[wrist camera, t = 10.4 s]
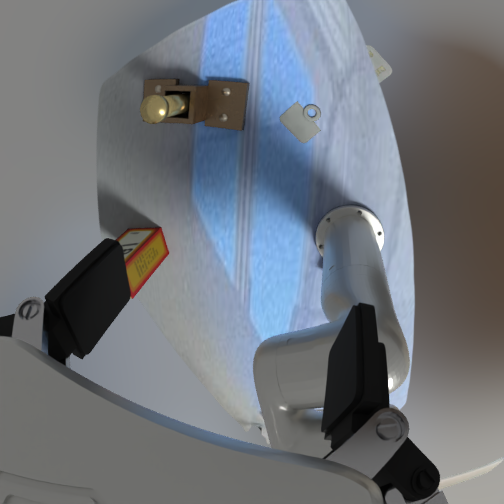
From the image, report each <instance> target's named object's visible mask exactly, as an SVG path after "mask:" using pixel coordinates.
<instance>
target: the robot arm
mask: <svg viewBox="0 0 504 504" xmlns="http://www.w3.org/2000/svg"><path fill="white" fill-rule="evenodd" d="M359 210H360V212H358V211H359ZM328 218H330V219H328ZM379 231H380V232H379ZM383 244H384V231H383V227H382V225H381V223H380V221H379V219H378V218H377V217H376V215H374V214H373V213H372V212H371V211H369V210H367V209H366V208H363V207H360V206H354V205H346V206H341V207H338V208H335V209H333V210H331V211H330V212H329V213H327V214H326V215H325V216H324V217H323V218H322V220H321V221H320V223H319V225H318V227H317V230H316V246H317V249H318V251H319V253H320V254H321V256H322V257H323V272H322V287H321V305H322V309H323V312H324V314H325V316H326V318H327V319H328V321H329V322H330V323H326V324H322V325H319V326H316V327H312V328H307V329H303V330H298V331H294V332H289V333H285V334H280V335H277V336H273V337H270V338H268V339H266V340H265V341H263V342H262V343H261V344H260V345H259V347H258V348H257V350H256V352H255V356H254V361H253V374H254V382H255V387H256V391H257V396H258V400H259V403H260V407H261V411H262V415H263V418H264V422H265V426H266V429H267V433H268V437H269V440H270V444H271V447H272V448H269V447H265V446H260V445H256V444H252V443H248V442H244V441H240V440H237V439H233V438H229V437H226V436H222V435H219V434H216V433H213V432H209V431H206V430H203V429H200V428H197V427H194V426H191V425H188V424H186V423H183V422H180V421H178V420H175V419H172V418H170V417H167V416H164V415H162V414H159V413H157V412H155V411H152V410H150V409H148V408H145V407H143V406H141V405H138V404H136V403H134V402H132V401H130V400H127V399H125V398H123V397H121V396H119V395H117V394H115V393H113V392H111V391H109V390H107V389H105V388H103V387H102V386H100V385H98V384H96V383H94V382H92V381H90V380H89V379H87V378H85V377H83V376H81V375H80V374H78V373H76V372H75V371H73V370H71V368H70V355H71V353H73V354H74V355H75V356H77V357H79V358H80V359H83V358H84V356H85V355H87V354H89V353H90V352H91V351H92V349H93V348H94V347H95V345H96V344H97V342H98V341H99V340H100V338H101V337H102V336H103V334H104V333H105V331H106V330H107V329H108V327H109V326H110V325H111V323H112V322H113V321H114V319H115V318H116V317H117V316H118V314H119V313H120V312H121V310H122V309H123V308H124V306H125V305H126V304H127V302H128V301H129V299H130V297H131V291H130V286H129V281H128V275H127V270H126V264H125V259H124V253H123V247H122V246H121V245H120V243H119V241H116V240H112V239H109V238H106V239H104V240H103V241H102V242H101V243H100V244H99V245H98V246H97V247H96V248H94V249H93V250H92V251H91V252H90V253H89V254H88V255H87V256H85V257H84V258H83V259H82V260H81V261H80V262H79V263H78V264H77V265H76V266H75V267H74V268H73V269H72V270H71V271H69V272H68V273H67V274H66V275H65V276H64V277H63V278H62V279H61V280H60V281H59V282H58V283H57V284H56V286H54V287H53V288H52V289H51V290H50V291H49V292H48V293H47V294H46V295H45V299H46V301H45V302H43V301H42V300H41V299H40V298H37V297H30V298H27V299H25V300H23V301H22V302H21V303H20V304H19V306H18V307H17V309H16V312H15V314H12V315H8V316H4V317H0V504H448V502H447V500H446V498H445V496H444V493H443V491H440V492H439V490H438V486H439V482H440V474H439V471H438V469H437V468H436V466H435V465H434V464H433V463H432V462H431V461H430V460H429V459H428V458H427V457H426V456H425V455H424V454H423V453H422V452H421V451H420V450H419V449H418V448H417V446H416V445H415V444H414V443H413V442H412V441H411V440H410V439H409V438H408V437H407V436H408V432H409V423H408V421H407V418H406V417H405V416H404V414H403V413H402V412H400V410H399V409H398V408H397V407H396V406H394V405H391V404H389V394H390V393H391V392H393V391H395V390H396V389H397V388H398V387H400V386H401V384H402V383H403V382H404V381H405V379H406V377H407V375H408V372H409V365H410V359H409V351H408V347H407V343H406V340H405V337H404V334H403V332H402V329H401V327H400V324H399V322H398V319H397V316H396V313H395V310H394V306H393V302H392V298H391V294H390V290H389V285H388V281H387V276H386V272H385V268H384V264H383V260H382V256H381V252H380V251H381V249H382V247H383ZM322 407H324V409H323V411H321V412H318V411H316V410H315V409H314V408H322Z"/></svg>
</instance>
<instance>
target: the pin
mask: <svg viewBox="0 0 504 504" xmlns="http://www.w3.org/2000/svg"><path fill="white" fill-rule="evenodd" d="M189 105H190V93H186V94H177V95H170V96H161V95H151V96H148V97H146V98H145V99H144V100H143V102H142V104H141V107H140V113H141V116H142V118H143V119H144V121H146V122H147V123H150V124H156V123H159V122H162V121H163V120H165V118H166V117H170V116H174V115H177V114H181V113H185V112H189Z"/></svg>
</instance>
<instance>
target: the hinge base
mask: <svg viewBox="0 0 504 504" xmlns="http://www.w3.org/2000/svg"><path fill="white" fill-rule="evenodd" d="M182 91H191V93H190V105H189V113H181V114H177V115H174V116H170V117H166V118H165V120H163V121H162V122H164V123H184V124H195V123H198V122H201V121H204V120H205V126H210V127H218V128H226V129H234V130H241V131H242V130H244V122H245V114H246V106H247V99H248V91H249V83H241V82H230V81H217V80H209V84H208V86H206V85H179V79H151V80H145V84H144V99H145V98H146V97H148V96H151V95H161V96H170V95H177V94H182ZM143 121H144V119H143ZM145 122H146V121H145Z"/></svg>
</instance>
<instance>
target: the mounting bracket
mask: <svg viewBox="0 0 504 504" xmlns="http://www.w3.org/2000/svg"><path fill="white" fill-rule="evenodd" d="M366 47H367V50H368V53H369V56H370V58H371V61H372V64H373V67H374V69H375V73H376V75H377V78H378V81H379V83H380V82H382V81H383V80H384V79H385V78H387V77H388V76H389V75H391V73H392V69H391V67H390V66H389V64H388V63H387V62H386V61H385V60H384V59H383V58H382V57H381V55H380V54H379V53H378V52H377V51H376V50H375V49H374V48H373V47H372V46H370V45H366ZM310 109H314V110H315V111H316V113H317V114H316V116H315V117H310V116H309V115H308V110H310ZM320 116H321V111H320V109H319V107H317V106H316V105H308V106H306V107H305V108H304V109H303V107H302V106H301V105H300V104H299V103H298V101H297V102H296V103H295V104H294V105H292V106H291V107H290V108H289V109H288V110H287V111H286V112H285V113H283V114H282V115H281V116H280V121H281V123H282V124H283V125H284V126H285V127H286V128H287V129H288V130H289V131H290V132H291V133H292V134H293V135H294V136H295V137H296V138H297V139H298V140H299V141H300V142H302V143H306V142H308V141H309V140H310V139H311V138H312V137H314V136H315V135H316V134H317V133H318V132H320V131H321V130H320V129H319V127H318V126H317V125H316V123H315V122H314V121H316V120H318V119H319V118H320Z"/></svg>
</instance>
